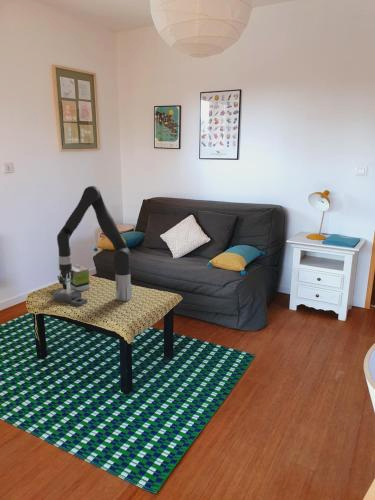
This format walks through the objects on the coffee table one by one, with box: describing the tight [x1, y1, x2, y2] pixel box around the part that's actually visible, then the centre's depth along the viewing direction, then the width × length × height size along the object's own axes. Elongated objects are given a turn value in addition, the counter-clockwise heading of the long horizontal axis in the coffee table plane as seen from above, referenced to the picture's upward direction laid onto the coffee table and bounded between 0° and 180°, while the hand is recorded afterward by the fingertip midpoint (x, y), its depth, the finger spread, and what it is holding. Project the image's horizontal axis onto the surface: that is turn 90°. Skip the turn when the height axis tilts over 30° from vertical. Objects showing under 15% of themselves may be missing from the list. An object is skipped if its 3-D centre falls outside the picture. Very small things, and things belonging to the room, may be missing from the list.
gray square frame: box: [70, 297, 88, 307], centre depth 240 cm, size 7×7×2 cm
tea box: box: [70, 263, 90, 292], centre depth 264 cm, size 15×10×15 cm
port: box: [52, 287, 83, 304], centre depth 246 cm, size 14×10×5 cm
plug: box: [63, 278, 71, 293], centre depth 244 cm, size 3×3×9 cm
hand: (66, 288), depth 245 cm, fingers closed on plug, 3 cm apart
